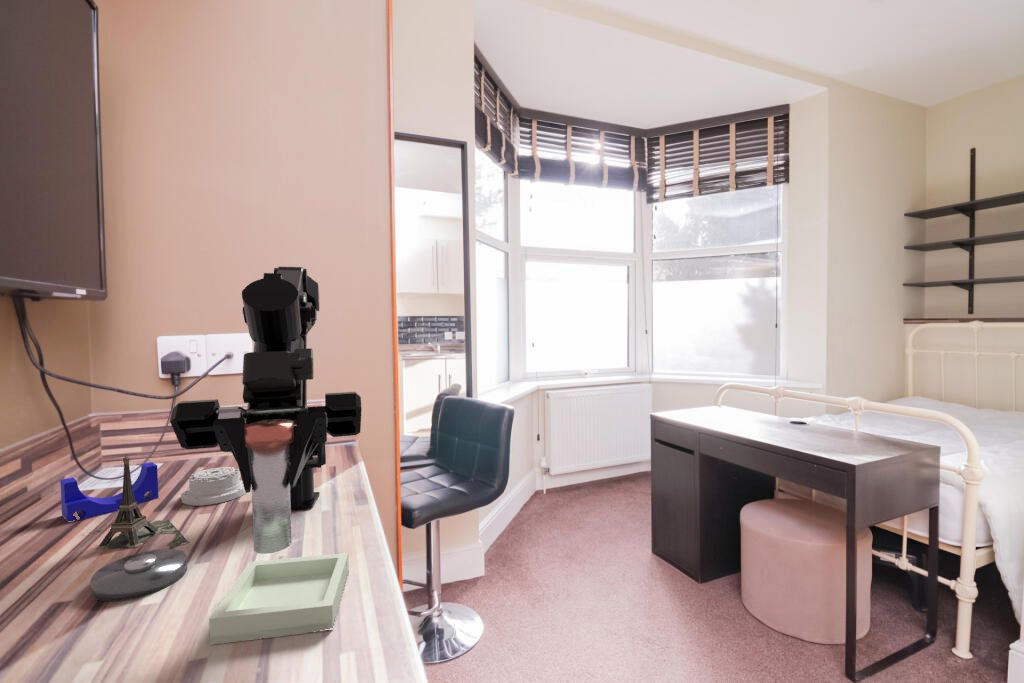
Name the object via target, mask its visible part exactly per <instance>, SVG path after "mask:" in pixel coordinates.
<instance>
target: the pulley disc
mask: <svg viewBox="0 0 1024 683" xmlns="http://www.w3.org/2000/svg"><path fill="white" fill-rule="evenodd" d="M187 572H188V555H187V553H186V552H185V551H183V550H180V549H171V548H167V549H166V548H164V549H154V550H148V551H144V552H138V553H134V554H132V555H129V556H125V557H123V558H120V559H117V560H115V561H112V562H110V563H109V564H107V565H105V566H103V567H101V568H100V569H98V570H97V571H96V572H95V573H94V574H92V576H91V578H90V593H91V597H92V598H93V599H94V600H96V601H101V602H120V601H126V600H127V601H128V600H133V599H137V598H140V597H144V596H147V595H151V594H153V593H155V592H156V593H157V592H158V591H160V590H163V589H165V588H168V587H170V586H171V585H173V584H174V583H176V582H177V581H179V580H180V579H182V578H183V577H184V576H185V574H186V573H187Z"/></svg>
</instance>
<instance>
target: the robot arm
mask: <svg viewBox="0 0 1024 683" xmlns="http://www.w3.org/2000/svg"><path fill="white" fill-rule="evenodd" d="M241 300H242V304H243V306H242V315H243V319H244V324H246V325H247V328H248V329H247V330H248V334H249V337H250V338H251V340H252V342H254V344H253V352H250V351H249V352H246V353H243V362H242V364H243V365H242V380H241V381H242V385H243V392H242V399H243V403H244V404H247V406H246V408H243V407H242V406H222V407H220V406H221V404H220V403H219V402H220V401H219V399H216V398H215V399H202V400H201V399H200V400H183V401H180V402H177V404H176V405H175V406H174V407H173V408H172V411H171V415H170V420H169V423H170V425H171V428H172V430H173V432H174V434H175V436H176V438H177V441H178V443H179V446H180V448H182V449H185V450H189V451H190V450H198V449H200V450H201V449H212V448H216V447H219V450H220V451H221V452H223V453H231V454H232V456H233V458H234V460H235V462H236V463H237V466H238V469H239V475H240V478H241V480H242V481H243V485H244V489H245V492H246V493H251V491H252V480H251V449H250V448H247V447H245V436H244V426H245V425H246V424H249V423H252V422H257V421H263V420H273V419H287V420H292V421H293V425H294V441H293V442H292V443H290V444H289V466H290V478H289V484H290V501H291V511H292V510H302V509H311V508H313V507H314V505H315V504H316V502H317V501H318V499H319V497H320V491H315V484H314V483H315V482H314V481H315V479H314V469H315V468H316V469H317V468H318V469H320V468H322V466H324V465H327V458H326V457H327V456H326V451H327V450H326V443H327V442H328V435H327V434H329V435H330V436H331V437H332V438H340V437H353V436H357V435H358V434H360V433H361V429H362V428H361V424H362V397H361V396H360V395H359V394H358V393H357V392H356V391H346V392H345V391H343V392H328V393H327V392H326V393H325V394H324V397H325V398H324V399H325V401H324V405H318V406H308V404H307V401H308V398H307V396H308V390H307V388H308V383H307V382H308V380H314V350H313V348H311V347H308V337H307V336H308V334H309V332H310V331H311V329H312V328H313V327H314V326H315V324H316V321H317V318H318V317H317V316H318V314H317V313H318V312H320V291H319V283H318V282H317V281H315V280H314V279H313V278H311V277H310V276H309V275H308V271H307V268H304V267H302V266H278V267H274V268H273V272H265V273H264V272H263V276H262V278H260V279H257V280H254V281H252V282H250V283H248V284H247V285H246V286H245V287H244V288H243V289H242V290H241ZM246 493H245V494H246Z"/></svg>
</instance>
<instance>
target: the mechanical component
mask: <svg viewBox="0 0 1024 683" xmlns="http://www.w3.org/2000/svg"><path fill="white" fill-rule="evenodd" d="M188 479H189V481H188V482H189V483H188V484H189V488H187V489H185V490H183V491H182V492H181V494H180V499H181V500H180V501H181V503H182V504H184V505H188V506H210V505H216V504H221V503H226V502H228V501H231V500H236V499H238V498H240V497H242V496H244V495H246V492H245V489H244V485H243V481H242V479H241V480H240V470H239V468H235V467H234V466H231V467H230V466H221V467H213V468H212V467H211V468H208V469H204V470H199V471H196V472H194V473H191V476H190V477H189V478H188Z"/></svg>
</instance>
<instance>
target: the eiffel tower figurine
mask: <svg viewBox="0 0 1024 683" xmlns="http://www.w3.org/2000/svg"><path fill="white" fill-rule="evenodd" d="M130 461H131V460H130V457H128V456H127V455H125V456H124V458H122V462H123V481H122V492H123V493H122V492H121V493H122V501H121V505H120V506H119V507H120V508H118V509H119V510H118V511H117V515H116V518H115V521H114V522H112V523H111V525H110V528H111V529H110V531H109V530H108V532H107V533H106V535H105V536H104V538H103V539H102V541H100V543H99V545H98V546H96V548H95V550H117V549H118V550H119V549H122V550H123V549H137V548H139V547H140V546H142V545H143V544H145V543H146V542H147V541H149V540H151V539H152V538H154V537H156V536H157V535H175V537H174V539H173V540H171V541H170V542H168V543H167V544H166V545H165V546H166V547H170V548H177V547H179V546H182V545H186V544H189V543H190V542H189V540H188V539H186V537H185V536H184V535H183V534H182V533H181V532H180V531H179V530H178V528H177V527H176V526H175V525H174V524H173V523H172V522H171V521H170V520H169V519H160V520H157V519H156V520H148V519H147V515H145V514H144V515H143V514H142V512H141V510H140V508H139V507H138V503H137V502H136V501H135V498H134V494H133V489H132V484H133V482H132V476H131V470H130ZM102 530H103V529H99V530H95V531H90V532H88V533H89V534H90V533H92V534H91V535H94V534H93V533H95V532H97V533H102V532H101V531H102ZM97 533H95V534H97ZM117 533H119V535H117V536H115V535H116V534H117ZM114 536H115V537H114Z"/></svg>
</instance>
